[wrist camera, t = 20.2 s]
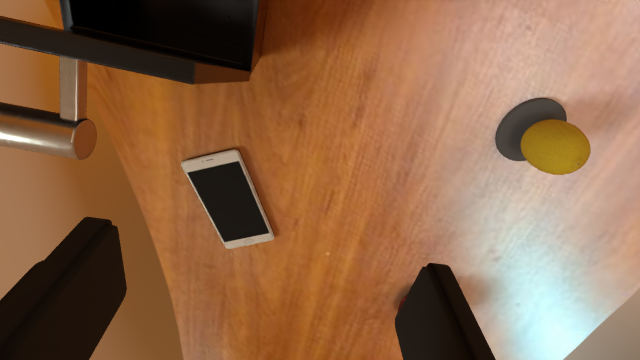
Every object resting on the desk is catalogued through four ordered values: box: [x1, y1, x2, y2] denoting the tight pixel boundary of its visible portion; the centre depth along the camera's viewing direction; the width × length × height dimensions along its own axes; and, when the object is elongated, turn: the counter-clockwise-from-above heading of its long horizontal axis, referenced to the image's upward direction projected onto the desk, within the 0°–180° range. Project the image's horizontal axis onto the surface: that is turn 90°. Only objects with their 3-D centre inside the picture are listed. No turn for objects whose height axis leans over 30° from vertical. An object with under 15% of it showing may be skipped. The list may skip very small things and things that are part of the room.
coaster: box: [496, 98, 567, 161], centre depth 39 cm, size 8×8×1 cm
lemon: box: [521, 119, 590, 175], centre depth 35 cm, size 6×6×8 cm
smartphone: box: [181, 149, 274, 249], centre depth 43 cm, size 8×1×15 cm
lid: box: [0, 16, 250, 160], centre depth 19 cm, size 16×15×5 cm
